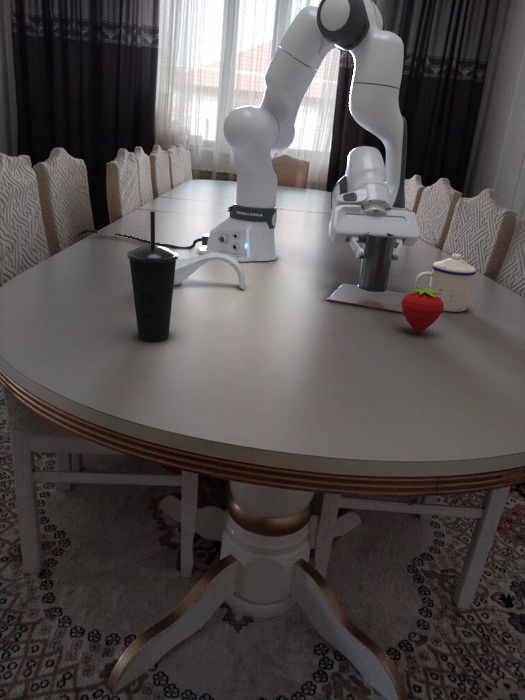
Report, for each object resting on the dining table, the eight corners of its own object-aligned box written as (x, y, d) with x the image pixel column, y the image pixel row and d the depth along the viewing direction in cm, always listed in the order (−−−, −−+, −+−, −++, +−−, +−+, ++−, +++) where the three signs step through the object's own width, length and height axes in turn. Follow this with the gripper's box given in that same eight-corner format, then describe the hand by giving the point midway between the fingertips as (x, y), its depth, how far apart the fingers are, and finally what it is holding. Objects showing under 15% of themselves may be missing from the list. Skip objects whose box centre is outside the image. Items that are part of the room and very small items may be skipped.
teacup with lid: (461, 302, 119) (473, 252, 115) (472, 314, 110) (484, 260, 106) (408, 297, 120) (418, 247, 116) (415, 309, 111) (425, 255, 107)
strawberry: (394, 325, 100) (404, 274, 96) (434, 329, 99) (445, 279, 95) (398, 335, 94) (408, 282, 91) (440, 340, 94) (452, 286, 90)
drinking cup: (132, 327, 88) (130, 206, 81) (178, 329, 89) (180, 210, 81) (125, 344, 81) (122, 213, 73) (175, 346, 82) (176, 216, 74)
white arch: (134, 287, 111) (133, 253, 108) (145, 274, 122) (144, 243, 119) (244, 294, 112) (246, 261, 109) (245, 280, 123) (247, 250, 120)
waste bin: (355, 289, 114) (363, 234, 110) (360, 282, 120) (368, 230, 115) (384, 293, 112) (393, 238, 108) (388, 287, 118) (397, 234, 113)
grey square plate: (326, 300, 112) (327, 298, 112) (342, 284, 126) (342, 283, 126) (401, 313, 108) (402, 311, 107) (409, 295, 122) (409, 293, 122)
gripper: (409, 217, 123) (417, 267, 117) (324, 212, 120) (329, 263, 115) (419, 200, 117) (429, 252, 111) (331, 194, 114) (336, 247, 109)
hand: (377, 258), depth 113 cm, fingers closed on waste bin, 6 cm apart
